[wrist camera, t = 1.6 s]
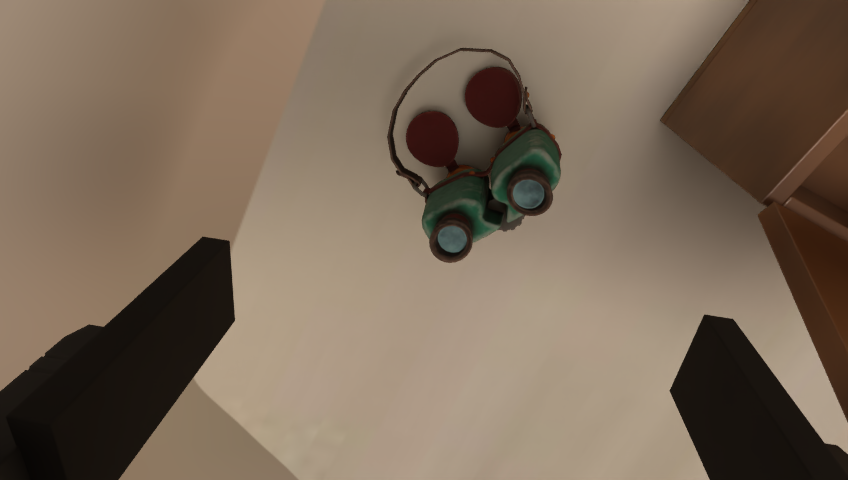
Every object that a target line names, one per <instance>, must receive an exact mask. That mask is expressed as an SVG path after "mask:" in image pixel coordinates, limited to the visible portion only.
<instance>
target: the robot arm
mask: <svg viewBox="0 0 848 480" xmlns="http://www.w3.org/2000/svg"><path fill="white" fill-rule="evenodd" d="M234 321H235V315H234V300H233V286H232V271H231V256H230V242H229V241H227V240H220V239H214V238H208V237H202V238H201V239H200V240H199V241H198V242H196V244H194V245H193V246H192V247H191V248H190V249H189V250H188V251H187V252H186V253H184V254H183V255H182V256H181V257H180V258H179V259H178V260H177V261H176V262H175V263H174V264H172V265H171V266H170V267H169V268H168V269H167V270H166V271H165V272H164V273H162V274H161V275H160V276H159V277H158V278H157V279H156V280H155V281H154V282H153V283H152V284H150V285H149V286H148V287H147V288H146V289H145V290H144V291H143V292H142V293H141V294H140V295H138V296H137V297H136V298H135V299H134V300H133V301H132V302H131V303H130V304H129V305H128V306H126V307H125V308H124V309H123V310H122V311H121V312H120V313H119V314H118V315H116V317H114V318H113V319H112V320H111V321H110V322H109V323H108V324H107V325H105V326H104V327H101V326H95V325H87V326H86V327H84V328H81V329H80V330H77V331H75V332H74V333H72V334H69V335H67V336H65V337H64V338H63V339H61V341H59V342H58V343H57V344H56V345H54V346H53V347H52V348H51V349H50V350H49V351H47V352H46V353H45V356H44V357H40V358H39V359H38V360H37V361H35V362H34V363H33V364H32V365H31V366H30V368H29V370H25V371H24V372H23V373H21V374H20V375H19V376H18V377H17V378H15V379H14V380H13V381H12V382H11V383H10V384H9V385H7V386H6V387H5V388H4V389H3V390H1V391H0V480H118V479H119V478H120V477H121V475H122V474H123V473H124V471H125V470H126V469H127V467H128V466H129V464H130V463H131V462H132V460H133V459H134V458H135V456H136V455H137V454H138V452H139V451H140V450H141V448H142V447H143V445H144V444H145V443H146V441H147V440H148V439H149V437H150V436H151V434H152V433H153V432H154V430H155V429H156V428H157V426H158V425H159V424H160V422H161V421H162V419H163V418H164V417H165V415H166V414H167V413H168V411H169V410H170V409H171V407H172V406H173V404H174V403H175V402H176V400H177V399H178V397H179V396H180V395H181V394H182V392H183V391H184V389H185V388H186V387H187V385H188V384H189V383H190V381H191V380H192V378H193V377H194V376H195V374H196V373H197V372H198V370H199V369H200V368H201V366H202V365H203V363H204V362H205V361H206V359H207V358H208V357H209V355H210V354H211V353H212V351H213V350H214V348H215V347H216V346H217V344H218V343H219V342H220V340H221V339H222V338H223V336H224V335H225V333H226V332H227V331H228V329H229V328H230V327H231V325H232V324H233V322H234ZM670 393H671V395H672V397H673V399H674V401H675V404H676V406H677V408H678V410H679V413H680V415H681V417H682V419H683V421H684V424H685V426H686V428H687V430H688V432H689V435H690V437H691V439H692V441H693V443H694V446H695V448H696V450H697V452H698V455H699V457H700V459H701V461H702V463H703V466H704V468H705V470H706V472H707V474H708V477H709V479H710V480H848V454H847V453H846V452H844V451H843V450H842V449H841V448H840V447H838V446H837V445H831V444H825V443H824V442H823V441H822V439H821V438H820V436H819V435H818V434H817V432H816V431H815V430H814V428H813V427H812V426H811V424H810V423H809V422H808V420H807V419H806V417H805V416H804V415H803V413H802V412H801V411H800V409H799V408H798V407H797V405H796V404H795V402H794V401H793V400H792V398H791V397H790V396H789V394H788V393H787V392H786V390H785V389H784V388H783V386H782V385H781V383H780V382H779V381H778V379H777V378H776V377H775V375H774V374H773V373H772V371H771V370H770V368H769V367H768V366H767V364H766V363H765V362H764V360H763V359H762V358H761V356H760V355H759V354H758V352H757V351H756V349H755V348H754V347H753V345H752V344H751V343H750V341H749V340H748V339H747V337H746V336H745V334H744V333H743V332H742V330H741V329H740V328H739V326H738V325H737V324H736V322H735V321H734V320H733V319H730V318H723V317H717V316H710V315H704V316H703V319H702V321H701V323H700V325H699V327H698V330H697V332H696V334H695V336H694V338H693V341H692V343H691V345H690V347H689V349H688V352H687V354H686V356H685V358H684V360H683V363H682V365H681V367H680V369H679V371H678V374H677V376H676V378H675V380H674V382H673V385H672V387H671V389H670Z"/></svg>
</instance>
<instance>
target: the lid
mask: <svg viewBox="0 0 848 480" xmlns="http://www.w3.org/2000/svg"><path fill="white" fill-rule="evenodd" d="M758 217H759V220H760V222H761V224H762V227H763V229H764V231H765V234H766V236H767V238H768V240H769V243H770V245H771V247H772V250H773V252H774V254H775V257H776V259H777V261H778V263H779V266H780V268H781V270H782V273H783V275H784V277H785V280H786V282H787V284H788V286H789V289H790V291H791V293H792V296H793V298H794V300H795V302H796V305H797V307H798V309H799V312H800V314H801V316H802V319H803V321H804V323H805V325H806V328H807V330H808V332H809V335H810V337H811V339H812V342H813V344H814V346H815V348H816V351H817V353H818V355H819V358H820V360H821V362H822V364H823V367H824V369H825V371H826V374H827V376H828V378H829V381H830V383H831V385H832V387H833V390H834V392H835V394H836V397H837V399H838V401H839V404H840V406H841V408H842V410H843V413H844V415H845V417H846V420H847V422H848V243H847V242H845V241H844V240H842V239H840V238H838V237H837V236H835V235H833V234H831V233H829V232H828V231H826V230H824V229H822V228H821V227H819V226H817V225H815V224H813V223H812V222H810V221H808V220H806V219H805V218H803V217H801V216H799V215H797V214H796V213H794V212H792V211H790V210H789V209H787V208H785V207H783V206H781V205H780V204H778V203H776V202H773V203H772V204H771V205H769V206H768V207H767V208H765V209H764V210H763V211H762V212H760V213H759V214H758Z"/></svg>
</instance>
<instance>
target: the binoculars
mask: <svg viewBox="0 0 848 480" xmlns="http://www.w3.org/2000/svg"><path fill="white" fill-rule="evenodd" d="M458 51H476V52H491V53H493V54H495V55H497V56H499V57H501V58H503V59H505V60H507V61H508V62H509V64H510V65H511V67H512V69H513V70H514V72H515V73H516V75H517V77H518V79H519V81H518V79H517V78H516V77H515V75H514V74H513V73H512V72H510V71H509V70H507V69H505V68H501V67H490V68H486V69H484V70H482V71H480V72H478V73H477V74H475V75H474V76H473V77H472V78H471V80H470V81H469V83H468V85H467V87H466V92H465V102H466V106H467V108H468V110H469V112H470V113H471V115H472V116H473V117H474V118H475V119H476V120H478V121H479V122H481V123H482V124H484V125H487V126H490V127H495V128H502V127H505V126H507V127H508V129H509V132H508V134H507V135H506V137H505V140H504V144H503V145H502V146H501V147H500V148H499V149H498V151H497V152H496V154H495V156H494V157H492V158H491V159H490V161H491V165H490V167H489V168H488V169H487V170H486V171H482V170H479V169H475V168H472V167H470V166H466V165H458V164H457V163H456V161H455V160H454V158H455V156H456V154H457V150H458V143H459V138H458V132H457V128H456V126H455V124H454V122H453V121H452V120H451V118H449V117H448V116H447V115H445V114H443V113H441V112H437V111H428V112H424V113H421V114H420V115H418V116H416V117H415V118H414V119H413V120H412V122H411V123H410V124H409V127H408V129H407V133H406V142H407V146H408V149H409V151H410V152H411V154H412V155H413V156H414V157H415V158H416V159H417V160H419V161H420V162H422V163H424V164H426V165H429V166H433V167H444V166H446V168H447V169H448V171H449V173H448V176H447V178H446V179H444V180H442V181H440V182H438V183H437V184H436V185H434V186H433V187H432V188H429V186H428V185H427V183H426V182H425V181H424V180H423V178H422V177H421V176H418V175H417V174H415V173H413V172H412V171H410V170H408V169H406V168H404V166H403V165H402V163H401V162H400V160H399V159H398V157H397V156H396V151H395V145H394V138H393V130H394V125H395V120H396V115H397V111H398V108H399V106H400V104H401V103H402V101H403V99H404V97H405V95H406V94H407V92H408V90H409V89H410V88H411V87H412V85H413V84H414V83H415V82H416V81H417V80H418V78H419V77H420V76H421V75H422V74H423V73H424V72H425V71H427V70H428V69H429V68H430V67H431V66H432V65H433V64H435V63H436V62H437V61H438V60H441V59H443V58H445V57H447V56H449V55H452V54H454V53H456V52H458ZM519 82H520V84H519ZM521 89H522V91H521ZM522 93H523V109H524V112H525V114H527V116H528V118H529V121H530V124H528V125H527V126H525V127H520V124H519V122H518V120H517V119H516V117H517V115H518V113H519V111H520V108H521V102H522ZM528 97H529V93H528V92H527V87H525V92H524V88H523V85H522V81H521V78H520V75H519V73H518V72H517V70H516V68H515V67H514V65H513V63H512V62H511V60H510V59H509V58H507V57H506V56H504V55H502V54H500V53H498V52H496V51H494V50H492V49H474V48H460V49H458V50H455V51H453V52H451V53H449V54H446V55H444V56H442V57H440V58H437V59H435V60H434V61H433V62H431V63H430V64H429V65H428V66H427V67H426V68H425V69H424V70H422V71H421V72H420V73H419V74H418V75H417V76H416V77H415V78H414V79H413V81H412V82H411V83H410V84H409V85H408V86H407V88H406V89H405V90H404V91H403V93H402V95H401V97H400V99H399V100H398V102H397V104H396V106H395V107H394V109H393V111H392V116H391V121H390V126H389V131H388V136H387V137H388V144H389V150H390V156H391V160H392V162H393V163H394V165H395V166H396V168H397V169H398V170H397V171H396V173H397V174H398V175H399V176H403V177H405V178H407V179H408V181H409V182H410V183H411V185H412V187H413V189H414V190H415V191H417V192H418V193H419V194H420V195H421V196H423V197H425V203H426V205H425V209H424V213H423V216H422V226H423V229H424V231H425V233H426V235H427V237H428V238H429V244H430V249H431V251H432V253H433V255H434V256H435V257H436V258H438V259H439V260H441V261H443V262H448V263H452V262H457V261H460V260H462V259H463V258H465V257H466V256H467V255H468V253H469V252H470V250H471V248H472V243H473V242H476V241H478V240H480V239H482V238H484V237H486V236H488V235H489V234H491V233H493V232H494V231H496V230H503V231H507V230H510V229H511V230H514V229H515V227H516V226H520V224H521V223H522V219H524V217H525V215H527V216H536V215H540V214H542V213H544V212H545V211H547V210H548V209H549V207H550V206H551V204H552V200H553V193H552V191H553V190H554V189H555V187H556V186H557V184H558V182H559V179H560V174H561V170H560V159H561V155H562V154H561V151H560V148H559V145H558V143H557V142H556V141H555V136H554V135H553V134H550V132H549V131H548V130H547V129H546V128H545V127H544V126H543V125H541V124H538V123H537V122H536V119H534V117H533V114H532V106H531V104H530V102H529V100H528ZM526 102H527V104H528V105H526ZM491 169H492V171H491ZM490 171H491V190H490V188H489V177H488V174H489V173H490ZM421 183H422V184H423V185H424V187H425V189H424V191H423V192H422V191H421V190H420V189H419V188H418V187H419V186H420V185H421ZM429 193H430V194H429Z"/></svg>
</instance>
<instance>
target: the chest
mask: <svg viewBox="0 0 848 480" xmlns="http://www.w3.org/2000/svg"><path fill="white" fill-rule="evenodd" d="M660 121H661V122H663V123H664V124H665V125H666V126H668V127H669V128H670V129H671V130H672V131H674V132H675V133H676V134H677V135H678V136H680V137H681V138H682V139H683V140H684V141H686V142H687V143H688V144H689V145H691V146H692V147H693V148H694V149H695V150H697V151H698V152H699V153H700V154H701V155H703V156H704V157H705V158H706V159H707V160H709V161H710V162H711V163H712V164H713V165H715V166H716V167H717V168H718V169H720V170H721V171H722V172H723V173H724V174H726V175H727V176H728V177H729V178H730V179H732V180H733V181H734V182H735V183H736V184H738V185H739V186H740V187H741V188H742V189H744V190H745V191H746V192H747V193H749V194H750V195H751V196H752V197H753V198H755V199H756V200H757V201H758V202H759V203H761V204H763V205H764V206H766V207H768V206H769V205H771V204H772V203H773V202H776V203H778V204H780V205H781V206H783V207H785V208H787V209H789V210H790V211H792V212H794V213H796V214H797V215H799V216H801V217H803V218H805V219H806V220H808V221H810V222H812V223H813V224H815V225H817V226H819V227H821V228H822V229H824V230H826V231H828V232H829V233H831V234H833V235H835V236H837V237H838V238H840V239H842V240H844V241H845V242H847V243H848V0H750V1H749V2H748V4H747V5H746V6H745V8H744V9H743V10H742V12H741V13H740V14H739V16H738V17H737V18H736V20H735V21H734V22H733V24H732V25H731V26H730V28H729V29H728V30H727V32H726V33H725V34H724V36H723V37H722V38H721V40H720V41H719V42H718V44H717V45H716V46H715V48H714V49H713V50H712V52H711V53H710V54H709V56H708V57H707V58H706V60H705V61H704V62H703V64H702V65H701V66H700V68H699V69H698V70H697V72H696V73H695V74H694V76H693V77H692V78H691V80H690V81H689V82H688V84H687V85H686V86H685V88H684V89H683V90H682V92H681V93H680V94H679V96H678V97H677V98H676V100H675V101H674V102H673V104H672V105H671V106H670V108H669V109H668V110H667V112H666V113H665V114H664V116H663V117H662V118H661V120H660Z"/></svg>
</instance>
